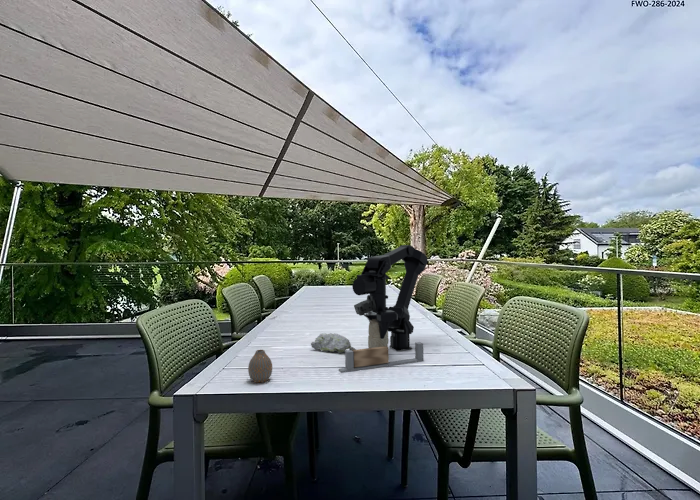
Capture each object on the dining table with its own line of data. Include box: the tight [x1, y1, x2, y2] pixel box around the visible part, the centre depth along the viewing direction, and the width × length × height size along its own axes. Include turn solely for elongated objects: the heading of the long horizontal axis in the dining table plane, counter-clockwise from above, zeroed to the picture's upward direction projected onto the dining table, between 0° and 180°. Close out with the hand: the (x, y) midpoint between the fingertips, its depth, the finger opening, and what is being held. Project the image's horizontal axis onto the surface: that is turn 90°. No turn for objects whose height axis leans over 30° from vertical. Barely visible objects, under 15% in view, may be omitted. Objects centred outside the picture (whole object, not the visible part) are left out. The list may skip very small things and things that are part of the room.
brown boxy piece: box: [348, 346, 390, 367], centre depth 122 cm, size 12×7×5 cm, turn 111°
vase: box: [247, 349, 273, 384], centre depth 109 cm, size 7×7×9 cm
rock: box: [310, 332, 352, 354], centre depth 140 cm, size 16×7×7 cm, turn 64°
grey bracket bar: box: [338, 341, 425, 374], centre depth 121 cm, size 30×2×6 cm, turn 111°
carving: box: [367, 319, 390, 348], centre depth 132 cm, size 6×8×12 cm
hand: (378, 336), depth 132 cm, fingers closed on carving, 6 cm apart
